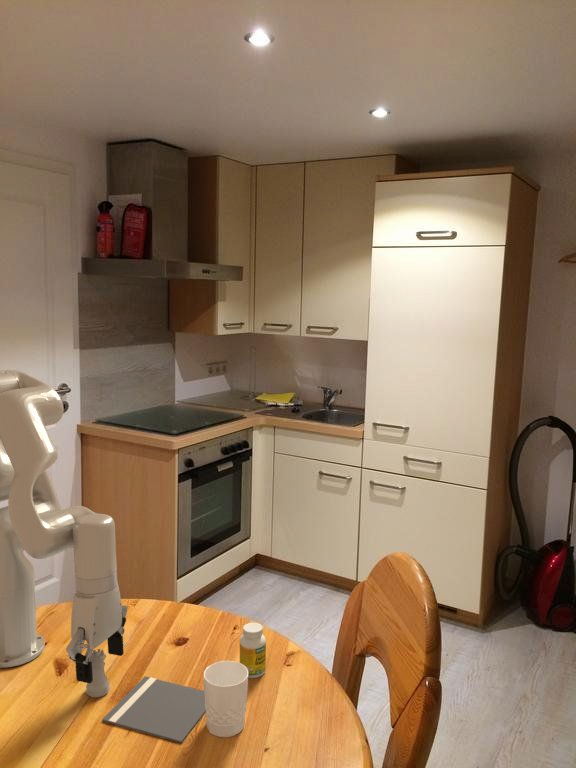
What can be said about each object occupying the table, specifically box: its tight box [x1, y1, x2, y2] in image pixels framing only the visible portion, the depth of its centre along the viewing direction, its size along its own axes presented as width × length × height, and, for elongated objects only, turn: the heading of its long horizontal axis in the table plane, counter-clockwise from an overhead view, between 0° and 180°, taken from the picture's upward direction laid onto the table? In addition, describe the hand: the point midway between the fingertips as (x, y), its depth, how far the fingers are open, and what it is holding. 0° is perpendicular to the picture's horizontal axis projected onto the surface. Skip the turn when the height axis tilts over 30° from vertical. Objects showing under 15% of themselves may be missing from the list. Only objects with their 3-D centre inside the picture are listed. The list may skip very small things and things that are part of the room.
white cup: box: [203, 660, 249, 738], centre depth 114 cm, size 8×8×10 cm
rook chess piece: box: [85, 648, 111, 699], centre depth 123 cm, size 4×4×8 cm
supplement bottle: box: [239, 622, 267, 679], centre depth 130 cm, size 5×5×10 cm
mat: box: [102, 676, 206, 744], centre depth 118 cm, size 16×14×1 cm
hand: (100, 667), depth 122 cm, fingers open, 9 cm apart
